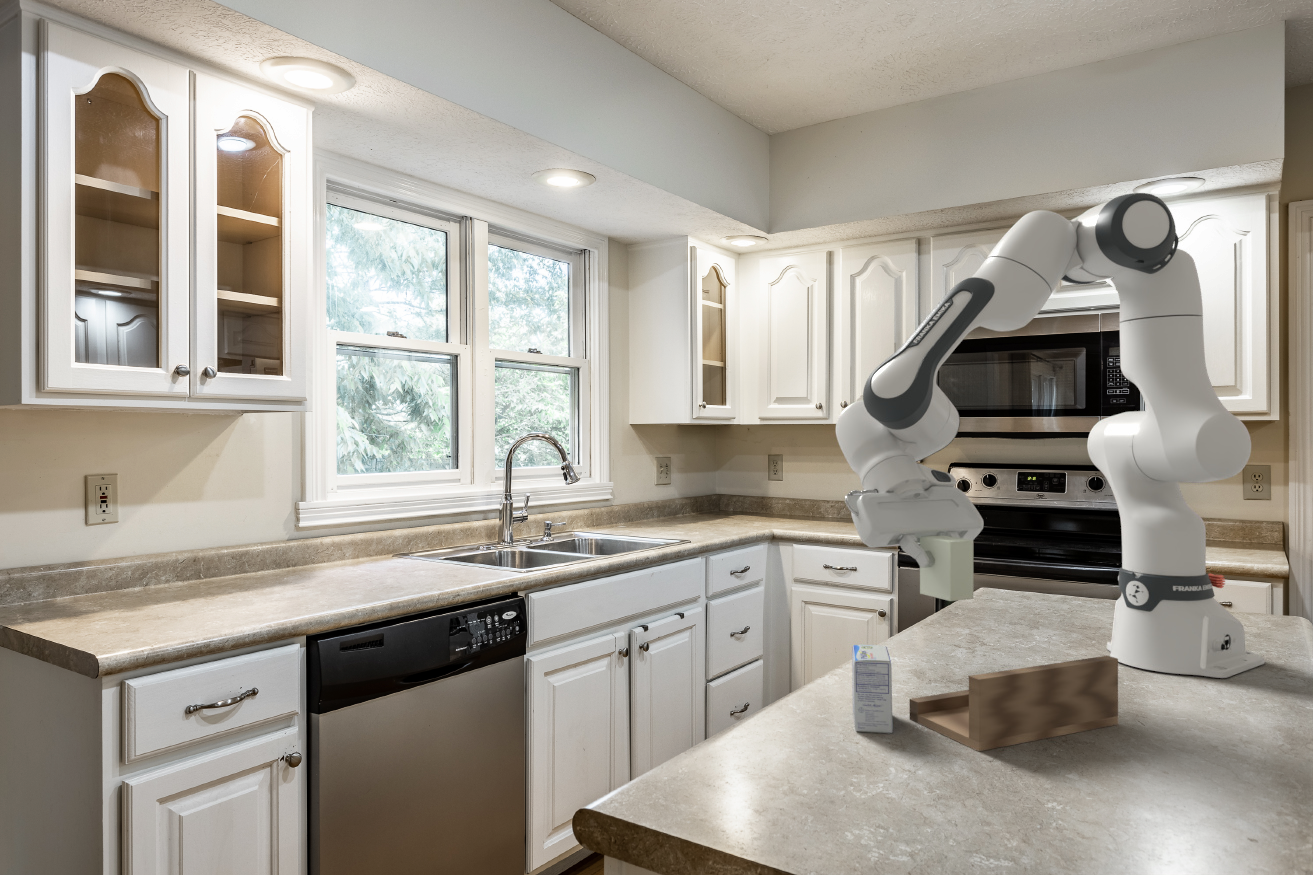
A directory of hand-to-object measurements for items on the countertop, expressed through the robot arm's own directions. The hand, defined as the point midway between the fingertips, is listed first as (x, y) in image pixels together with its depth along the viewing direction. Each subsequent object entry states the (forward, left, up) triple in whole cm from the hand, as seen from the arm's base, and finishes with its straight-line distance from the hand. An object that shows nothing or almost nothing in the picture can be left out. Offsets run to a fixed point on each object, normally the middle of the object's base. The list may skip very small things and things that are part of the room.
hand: (944, 563), depth 116 cm
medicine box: (+18, +7, -18) cm, 26 cm away
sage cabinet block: (0, 0, -4) cm, 4 cm away
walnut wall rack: (+2, +14, -17) cm, 22 cm away
